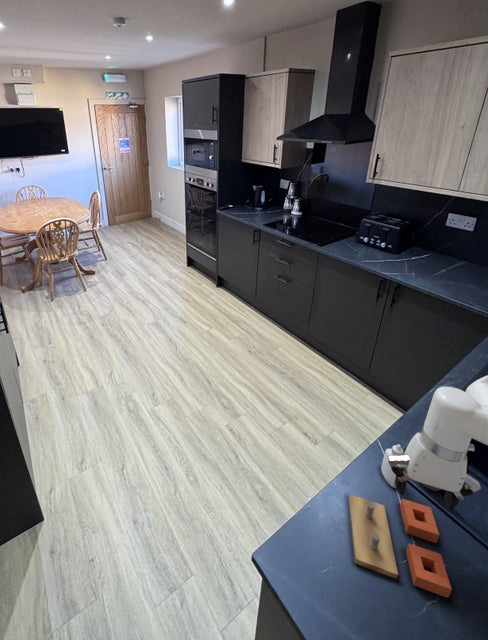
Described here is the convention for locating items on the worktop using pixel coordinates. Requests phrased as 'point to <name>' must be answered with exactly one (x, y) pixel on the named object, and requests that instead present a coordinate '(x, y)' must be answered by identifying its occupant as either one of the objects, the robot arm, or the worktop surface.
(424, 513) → the pad
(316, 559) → the worktop surface
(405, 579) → the worktop surface
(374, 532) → the base board
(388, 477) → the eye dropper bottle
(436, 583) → the orange square ring block
